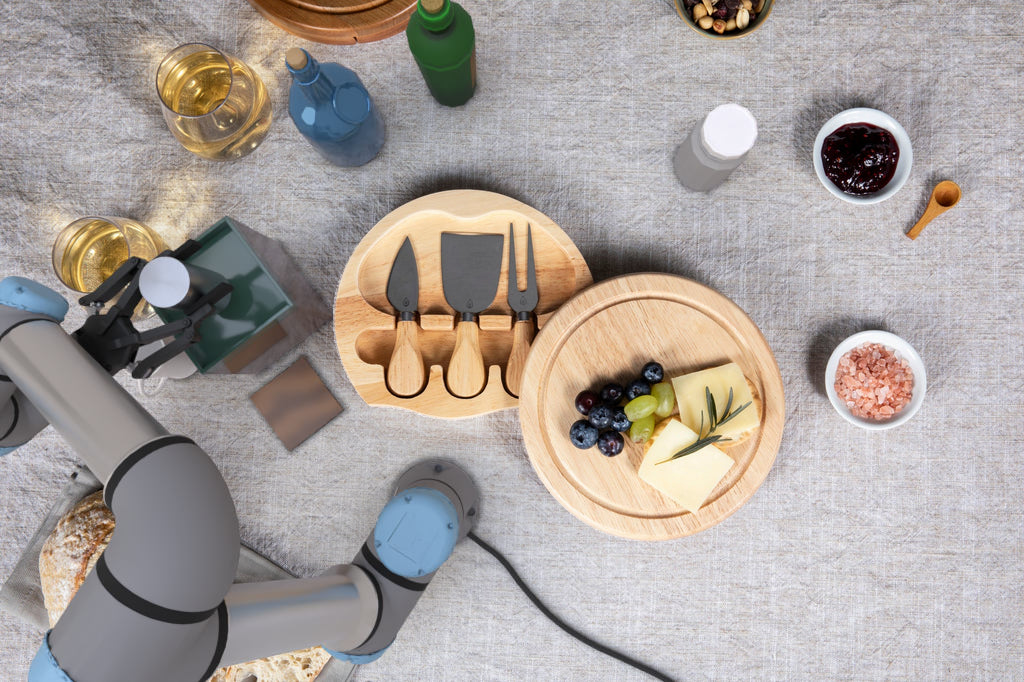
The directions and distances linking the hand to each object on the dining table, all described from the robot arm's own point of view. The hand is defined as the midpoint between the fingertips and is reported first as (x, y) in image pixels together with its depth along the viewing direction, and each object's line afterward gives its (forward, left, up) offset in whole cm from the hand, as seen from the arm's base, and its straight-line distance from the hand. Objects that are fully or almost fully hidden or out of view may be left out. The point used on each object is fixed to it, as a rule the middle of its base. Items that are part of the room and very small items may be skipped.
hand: (212, 264), depth 90 cm
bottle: (+12, -46, -30) cm, 56 cm away
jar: (-27, -72, -30) cm, 83 cm away
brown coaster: (-17, +11, -30) cm, 36 cm away
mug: (+2, +24, -30) cm, 39 cm away
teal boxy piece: (0, +5, -30) cm, 30 cm away
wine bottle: (+16, -26, -30) cm, 43 cm away
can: (0, +5, -7) cm, 9 cm away
